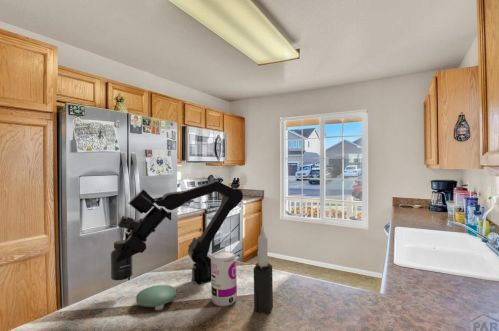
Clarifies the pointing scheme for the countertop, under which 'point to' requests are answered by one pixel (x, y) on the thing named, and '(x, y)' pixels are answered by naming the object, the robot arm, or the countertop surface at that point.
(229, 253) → the supplement can
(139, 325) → the countertop surface
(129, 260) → the supplement bottle
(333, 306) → the countertop surface
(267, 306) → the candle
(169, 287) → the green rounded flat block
